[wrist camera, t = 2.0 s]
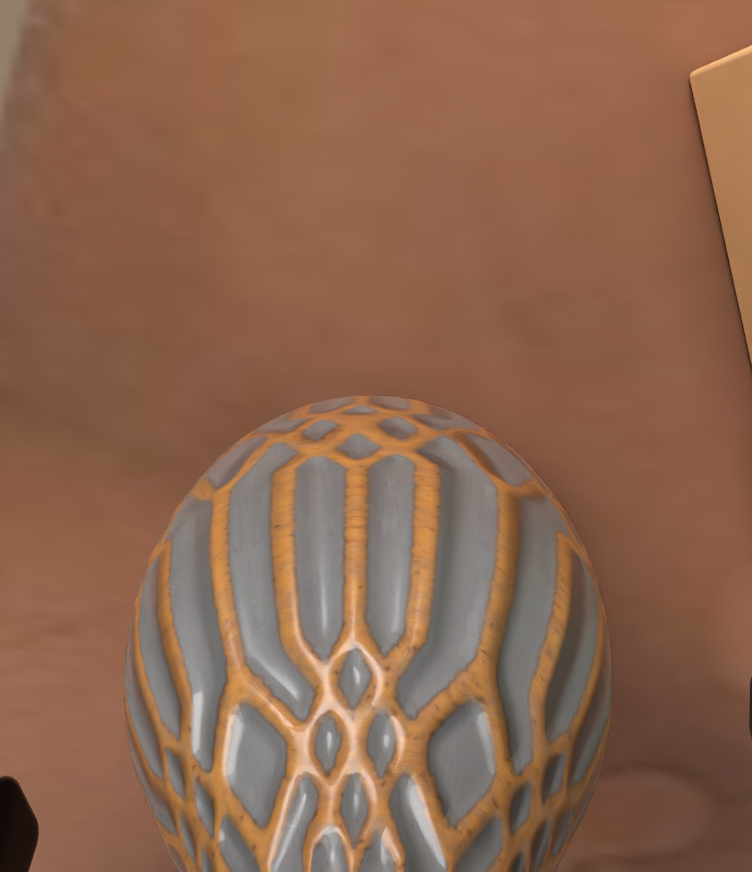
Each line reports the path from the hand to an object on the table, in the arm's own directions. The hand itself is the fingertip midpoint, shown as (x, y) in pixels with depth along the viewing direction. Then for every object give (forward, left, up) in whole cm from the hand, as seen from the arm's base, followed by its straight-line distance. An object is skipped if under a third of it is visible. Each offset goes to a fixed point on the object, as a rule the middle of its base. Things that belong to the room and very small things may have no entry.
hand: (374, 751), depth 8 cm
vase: (0, 0, -6) cm, 6 cm away
